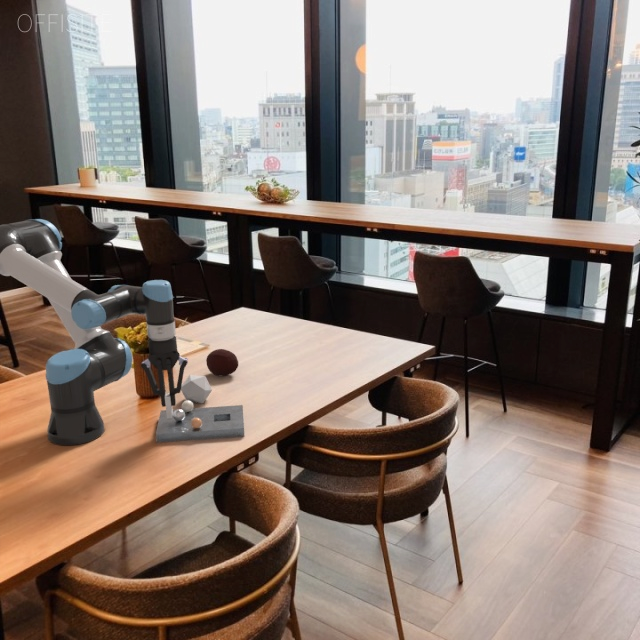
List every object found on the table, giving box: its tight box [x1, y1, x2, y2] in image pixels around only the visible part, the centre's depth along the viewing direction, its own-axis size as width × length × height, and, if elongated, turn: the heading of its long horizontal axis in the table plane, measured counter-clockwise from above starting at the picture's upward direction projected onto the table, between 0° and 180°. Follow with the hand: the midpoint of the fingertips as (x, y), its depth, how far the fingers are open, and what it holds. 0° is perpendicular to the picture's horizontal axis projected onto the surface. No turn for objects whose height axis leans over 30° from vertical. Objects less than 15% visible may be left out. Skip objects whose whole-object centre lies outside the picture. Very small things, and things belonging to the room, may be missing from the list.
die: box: [180, 374, 213, 404], centre depth 216 cm, size 8×9×10 cm
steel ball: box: [173, 408, 185, 421], centre depth 197 cm, size 3×3×3 cm
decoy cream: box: [181, 399, 194, 412], centre depth 203 cm, size 3×3×3 cm
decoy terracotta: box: [191, 418, 202, 429], centre depth 192 cm, size 3×3×3 cm
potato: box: [205, 348, 239, 377], centre depth 237 cm, size 9×12×9 cm
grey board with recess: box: [155, 404, 245, 443], centre depth 198 cm, size 24×16×2 cm, turn 98°
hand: (169, 416), depth 196 cm, fingers closed
